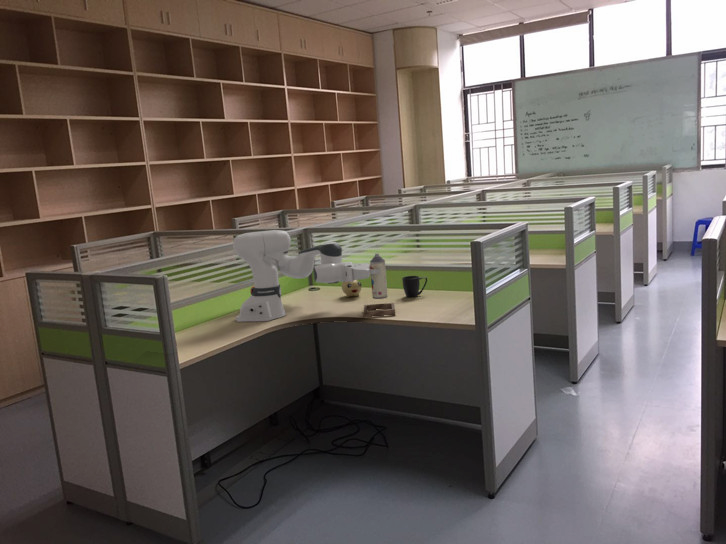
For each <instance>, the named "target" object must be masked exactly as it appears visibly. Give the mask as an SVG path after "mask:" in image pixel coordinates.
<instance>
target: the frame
mask: <svg viewBox="0 0 726 544" xmlns="http://www.w3.org/2000/svg"><path fill="white" fill-rule="evenodd" d="M376 309H386V310H376ZM367 310H372V311H367ZM384 315H393V316H396V306H395V302H389V303H387V302H386V303H376V304H375V303H374V304H373V303H372V304H364V305H363V317H366V318H373V317H372V316H380V317H385V316H384Z"/></svg>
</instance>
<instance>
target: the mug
mask: <svg viewBox="0 0 726 544" xmlns="http://www.w3.org/2000/svg"><path fill="white" fill-rule="evenodd" d="M422 279H425V281H424V283H423V284H424V285H423V286H422V288H421V290H420V285H421V284H420V280H422ZM401 281H402V287H403V291H404V294H405V297H406V298H409V299H410V298H411V299H412V298H413V297H414V298H417V297H418V296H420V295H421V294H422V293H423V291H424V289H425V287H426V285H427V282H428V278H427V277H426V276H423V277H420V276H419V275H407V276H403V277H402V280H401Z"/></svg>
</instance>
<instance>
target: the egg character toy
mask: <svg viewBox="0 0 726 544" xmlns="http://www.w3.org/2000/svg"><path fill="white" fill-rule="evenodd" d="M341 283H342V284H341V290H342V291H343V293H344V294H345V295H346V298H349V297H354V296H356V297H360V293H361V290H362V282H360V281H359V280H354V281H353V282H341Z"/></svg>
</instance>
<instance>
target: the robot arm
mask: <svg viewBox="0 0 726 544" xmlns="http://www.w3.org/2000/svg"><path fill="white" fill-rule="evenodd" d="M291 244H292V239H291V236H290V235H289V233H288V232H287V231H286V230H279V229H271V230H270V229H269V230H263V231H261V230H260V231H251V232H245V233H242V234H239V235H236V236H235V237H234V239H233V243H232V247H233V252H234V253H235V254H236V255H237V257H239V258H240V259H243V260H244V261H245V262H246V264H247V265H248V266H249V267H250V270H251V274H252V278H253V285H252V286H251V287H250V296H249V297H248V298H247V299H246V300H245V301H244V302H243V303H242V304H241V306H240V308H239V309H240V310H239V311H240V312H239V314H237V316H236V317H235V321H236V322H237V323H238V322H239V323H240V322H241V323H245V322H246V323H247V322H249V323H250V322H269V321H272V320H275V319H276V320H277V319H279V318H282V317H284V316H286V311H285V308H284V305H283V301H282V288H281V284H280V280H279V273H278V272H279V271H280V273H281V274H282V275H284V276H285V277H288V278H291V279H292V278H293V279H306V278H307V277H309V276H310V275H311V274H312V272H313V279H314V282H315V283H318V284H319V283H321V284H329V285H330V284H331V285H332V284H339V283H340V282H341V283H343V282H353V281H354V280H357V281H359V280H365V279H369V278H371V274H376V273H380V269H370V262H369V263H368V262H363V263H355V264H354V263H353V261H343V256H342V254H343V251H342V250H343V247H342V246H341V245H340V244H339V243H337V242H336V241H331V242H326V243H323V244H321V245H317V246H312V247H308V248H304V249H302V250H300V251H299V254H298V255H287V254H288V253H289V250H290V248H291ZM317 255H318V256H319V255H320V259H321V260H320V262H321V264H318V265H317V264H316V265H315V258H316V256H317Z"/></svg>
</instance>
